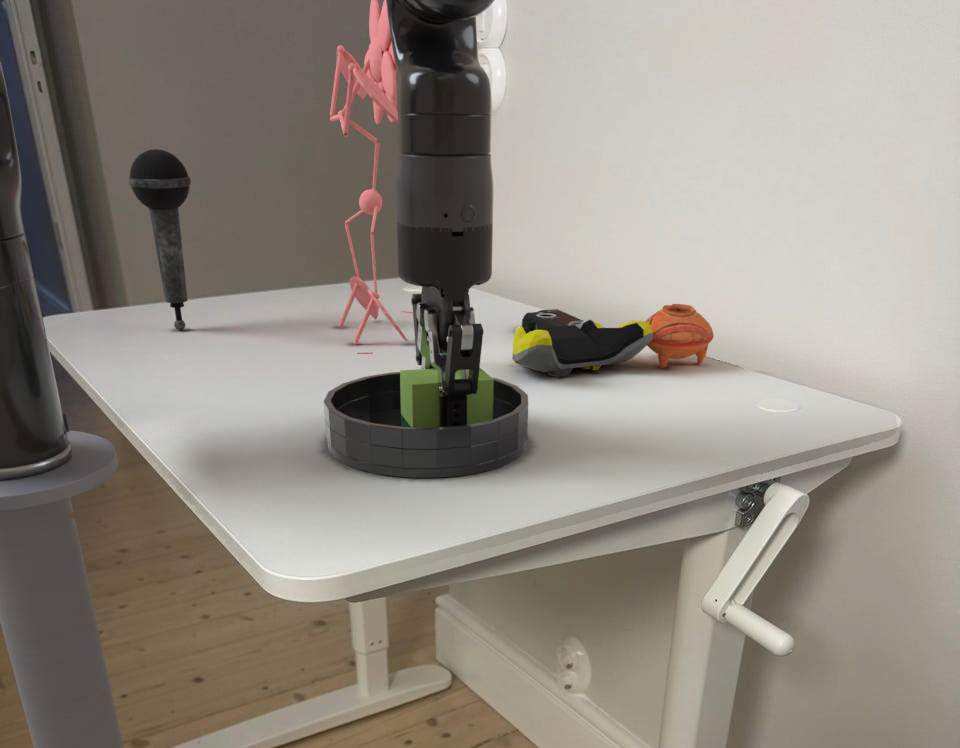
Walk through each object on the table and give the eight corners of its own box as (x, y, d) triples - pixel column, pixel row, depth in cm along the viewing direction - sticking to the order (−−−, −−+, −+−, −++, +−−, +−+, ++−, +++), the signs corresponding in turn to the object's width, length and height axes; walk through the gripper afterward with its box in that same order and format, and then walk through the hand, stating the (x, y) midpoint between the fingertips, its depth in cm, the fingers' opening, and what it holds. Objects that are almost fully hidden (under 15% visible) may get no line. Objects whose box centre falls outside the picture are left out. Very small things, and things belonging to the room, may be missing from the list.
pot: (705, 351, 113) (716, 294, 109) (708, 385, 108) (719, 327, 103) (635, 346, 114) (643, 289, 109) (635, 379, 108) (643, 321, 104)
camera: (548, 325, 114) (514, 308, 123) (549, 349, 116) (515, 331, 125) (598, 317, 116) (560, 301, 125) (598, 341, 117) (561, 323, 126)
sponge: (412, 443, 83) (412, 384, 80) (401, 427, 87) (399, 370, 84) (492, 437, 85) (493, 379, 82) (477, 421, 88) (478, 365, 86)
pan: (347, 487, 76) (344, 437, 74) (314, 421, 91) (310, 377, 89) (555, 466, 81) (557, 419, 79) (492, 406, 95) (493, 365, 93)
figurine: (362, 362, 109) (342, -18, 91) (320, 314, 130) (298, -2, 112) (493, 353, 113) (499, -13, 95) (432, 307, 134) (428, 1, 117)
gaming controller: (656, 374, 106) (608, 353, 113) (662, 322, 103) (612, 303, 111) (532, 390, 100) (490, 366, 108) (534, 334, 97) (491, 314, 105)
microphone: (139, 332, 120) (110, 149, 110) (177, 321, 125) (152, 146, 115) (184, 339, 117) (158, 152, 107) (220, 327, 123) (199, 148, 113)
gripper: (379, 207, 82) (385, 409, 91) (419, 230, 70) (423, 460, 79) (465, 205, 84) (464, 403, 92) (519, 228, 72) (512, 452, 81)
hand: (445, 428), depth 86 cm, fingers closed on sponge, 4 cm apart
